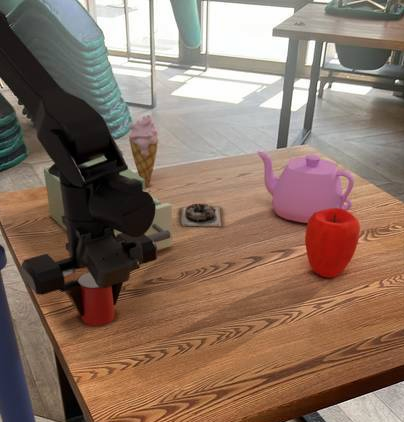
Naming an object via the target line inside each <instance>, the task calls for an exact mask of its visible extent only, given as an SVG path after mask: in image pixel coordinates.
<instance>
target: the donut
mask: <svg viewBox="0 0 404 422" xmlns="http://www.w3.org/2000/svg"><path fill="white" fill-rule="evenodd" d="M180 218H181V220H180V221H181V225H182V226H183V227H222V224H221V209H220V207H219V206H212V205H211V204H208V203H203V202H202V203H199V202H198V203H192V204H190V205H187V206H182V208H181V217H180Z"/></svg>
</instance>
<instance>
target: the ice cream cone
mask: <svg viewBox="0 0 404 422" xmlns="http://www.w3.org/2000/svg"><path fill="white" fill-rule="evenodd" d="M128 128H129V129H130V130H131V132H130V134H129V135H128V138H129V145H130V149H131V153H132V157H133V161H134V164H135V167H136V171H137V175H139V176H140V177H142V178H143V179H145V189H147V188H149V187H150V184H151V180H152V177H153V172H154V167H155V162H156V158H157V153H158V144H159V139H158V134H159V133H158V129H159V128H158V127H157V126H156V125H155V122H153V116H151V115H150V114H147V115H146V116H145V115H143V116H142V120H138V119H137V120H136V122H135V123H133V122H131V123H130V125H128Z"/></svg>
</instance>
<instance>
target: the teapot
mask: <svg viewBox="0 0 404 422" xmlns="http://www.w3.org/2000/svg"><path fill="white" fill-rule="evenodd" d="M256 154H257V155H258V156H259V157H260V158H261V160H262V163H263V167H264V172H263V173H264V175H263V178H264V186H265V189H266V190H267V192H268V193H269V194H270V196H272V198H271V205H272V208H273V210H274V212H275V214H277V216H278V217H281V218H283V219H285V220H287V221H293V222H297V223H298V222H299V223H303V224H304V223H305V224H308V220H309V219H310V217H311V216H312V215H313V213H314V212H318V211H321V210H325V209H331V208H339V209H342V210H346V211H349V210H351V208H352V206H353V203H352V202H353V201H352V200H351V199H350V198H348V196H350V194H351V192H352V190H353V188H354V184H355V179H354V176H353V175H352V174H351V173H350V172H349V171H347V170H339V169H338V165H337V164H336V163H335V162H333V161H331V160H327V159H322V157H321V156H320V155H318V154H306V155H305V156H304V157H300V156H299V157H293V158H291V159H290V160H289V161H288V162H287V164H286V165H285V167H284V168H283V170H282V172H281V174H280V175H279V177H278V178H277V176H276V175H275V174H274V170H273V169H274V168H273V161H272V158H271V157H270V156H269V155H268V154H267V153H264V152H262V151H259V150H257V151H256ZM341 177H344V178H346V179H347V180H348V185H347V188H346V190H345V191H344V193H343V187H342V186H343V185H342V180H341ZM345 203H347V205H346V204H345Z"/></svg>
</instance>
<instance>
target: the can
mask: <svg viewBox="0 0 404 422" xmlns="http://www.w3.org/2000/svg"><path fill="white" fill-rule="evenodd" d="M76 280H77V281H78V282H79V283H80V285H81V287H80V289H79V291H80V296H81V300H82V305H83V312H84V316H82V317H81V316H80V317H81V321H82V322H83V323H84V324H86V325H88V326H92V327H93V326H94V327H98V326H105V325H107V324H110V323H111V322H112V321H113V320H114V319H115V316H116V315H115V305H114V303H113V292H112V285H111V286H110V287H108V288H101V287H99V286H98V285H97V284H96V283H95V280H94V278H93V277H92V275H91V274H90V272H89V271H88V272H84V273H82V274H80V275H79V276H78V277H77V279H76Z"/></svg>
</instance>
